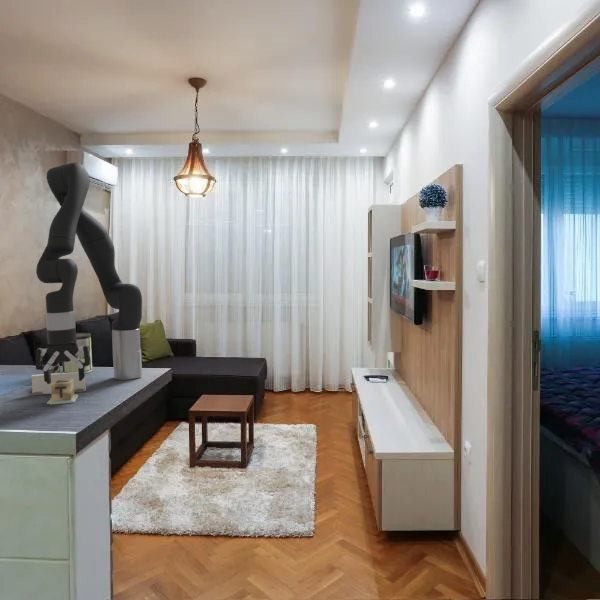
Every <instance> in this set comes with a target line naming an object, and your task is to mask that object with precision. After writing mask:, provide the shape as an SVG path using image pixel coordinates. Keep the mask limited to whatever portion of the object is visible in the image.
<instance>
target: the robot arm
mask: <svg viewBox="0 0 600 600" xmlns="http://www.w3.org/2000/svg"><path fill="white" fill-rule="evenodd" d="M46 181H47V182H46V183H47V184H48V187H49V189H50V191H51V193H52V194H53V197H55V199H56V201H57V203H58V204H59V205H60V208H59V210H58V211H57V212H56V214H55V215H54V217H53V219H52V222H51V224H50V226H49V231H48V237H47V244H46V246H45V248H44V251H43V252H42V254H41V256H40V258H39V260H38V262H37V265H36V269H35V270H36V272H35V273H36V277H37V279H38V280H39V281H40V282H42V283H44V284H61V286H60V288H59V289H58V290H55V291H54V290H53V291H51V292H48V293H47V294H46V295H45V308H46V317H45V318H46V319H45V321H46V323H45V324H46V325H45V327H46V335H47V348H41V347H38V348H37V349H36V350H35V370H37V371H39V370H40V371H42V372H43V374H44V381H45V382H47V384H50V383H51V372H50V370H49V369H51V368H52V365H53V364H54V362H56V363H62V361H64V362H69V361H72V362H73V363H75V364H76V365H77V366H78V367H79V369H78V372H79V381H82V380H83V379H84V377H85V378H86V373H85V370H84V367H86V366H88V365H89V364H90V363H91V360H90V352H89V346H88V345H85V346H79V347H78V345H77V340H76V333H77V329H76V325H77V324H76V316H75V312H74V291H75V285H76V283H77V280H78V279H77V277H78V269H79V268H78V265H77V263H76V262H75V261H74V260H73V259H71V258H62V257H66V256H68V255H71V254H73V252H74V248H75V243H76V237H77V239H78V241H79V242H80V245H81V247H82V249H83V251H84V253H85V255H86V257H87V258H88V260H89V263H90V265H91V267H92V269H93V271H94V273H95V275H96V277H97V280H98V281H99V284H100V287H101V290H102V293H103V295H104V298H105V301H106V302H107V304H108V305H109V307H111V308H112V309H115V310H118V317H117V319H115V320H113V321H112V322H111V338H112V340H111V341H112V361H113V362H112V363H113V378H114V379H115V380H119V381H122V380H123V381H124V380H135V379H139V378H142V376H143V368H142V367H143V365H142V349H141V331H140V330H141V328H140V326H141V322H142V318H143V296H142V292H141V289H140V288H139V286H137V285H136V284H134V283H123V281H122V280H121V279H120V275H119V274H118V272H117V270H116V263H115V259H116V258H115V256H116V253H115V252H116V251H115V246H114V243H113V241H112V239H111V237H110V234H109V233H108V229H107V228H106V227H105V226H104V224H102V223H101V221H99V220H98V219H97V218H95V217H94V216H92V215H91V214H90V213H89V212H88V211H86V210H85V209H84V208H83V206H84V204H85V201H86V198H87V195H88V192H89V188H90V181H91V180H90V174H89V172H88V171H87V169H86V167H85V166H84V165H82V164H81V163H79V162H69V163H66V164H61V165H58V166H54V167H51V168H49V169H48V171H47V172H46ZM78 350H80V351H81V353H84V359H85V362H82V361H81V360H80V358H79V357H78V356H77V355H76V353H77V352H78ZM46 354H47V355H48V356H49V357H50V358H49V360H48V361H47V362H46V364H43V357H44V356H45V355H46Z"/></svg>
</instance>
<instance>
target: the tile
mask: <svg viewBox="0 0 600 600" xmlns="http://www.w3.org/2000/svg"><path fill="white" fill-rule="evenodd" d="M78 397H79V394H75V393H74V396H73V398H72V399H71V400H63V401H52V397H50V399H49V400H48V401H47V402H46V405H47V404H50V405H63V404H71V403H73V404H74V403H75V401H76V400H77V399H78Z"/></svg>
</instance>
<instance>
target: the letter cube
mask: <svg viewBox="0 0 600 600" xmlns="http://www.w3.org/2000/svg"><path fill="white" fill-rule="evenodd" d="M51 392H52V394H51V398H52V401H63V400H71V399H72V398H73V396H74V395H75V392H74V380H73V379H67V380H55V381H54V382H53V383H52V384H51Z"/></svg>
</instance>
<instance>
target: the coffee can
mask: <svg viewBox="0 0 600 600" xmlns="http://www.w3.org/2000/svg"><path fill="white" fill-rule="evenodd" d="M91 336H92V334H91V333H89V332H76V340H77V345H78V347H79V346H85V345H88V346H89V352H90V360H91V363H90V364H89V365H88V366H86V367H84V370H85V374H88V373H91V372H92V371H93V362H92V361H93V357H92V356H93V355H92V338H91ZM76 355H77V356H78V357H79V358H80V360H81V361H82V362H85V359H84V353H81V351H80V350H78V352H77V353H76ZM61 363H62V373H70V372H78V369H79V367H78V366H77V365H76V364H75V363H73V362H72V361H69V362H64V361H62V362H61Z"/></svg>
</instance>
